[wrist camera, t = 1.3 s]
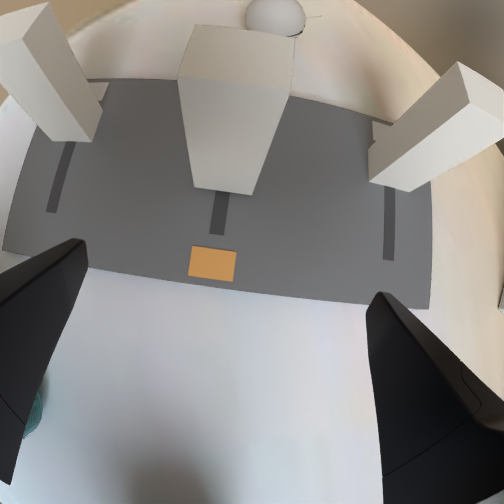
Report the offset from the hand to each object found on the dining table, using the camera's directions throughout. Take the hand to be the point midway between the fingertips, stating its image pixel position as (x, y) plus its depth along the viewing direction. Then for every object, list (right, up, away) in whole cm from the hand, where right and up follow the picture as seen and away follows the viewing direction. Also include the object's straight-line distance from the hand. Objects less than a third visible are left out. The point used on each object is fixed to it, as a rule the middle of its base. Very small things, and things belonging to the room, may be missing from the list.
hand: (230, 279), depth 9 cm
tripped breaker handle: (-1, +6, +13) cm, 14 cm away
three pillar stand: (-1, +6, +14) cm, 15 cm away
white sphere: (+3, +22, +17) cm, 28 cm away
